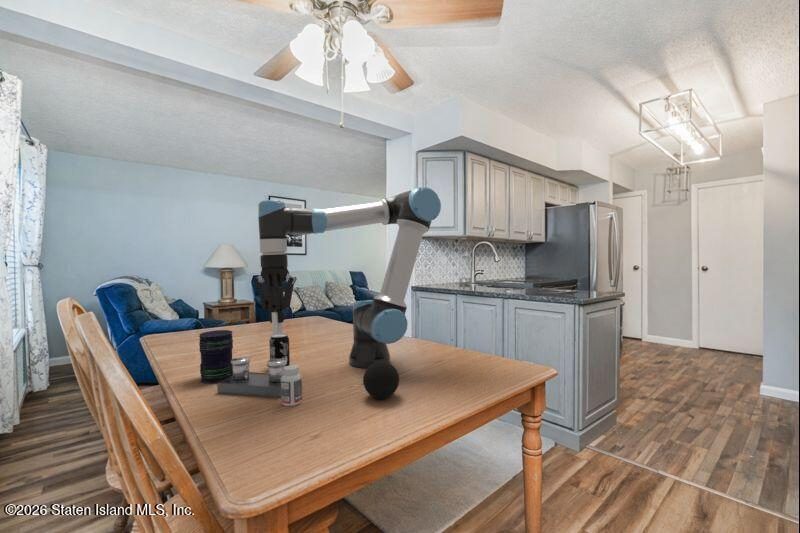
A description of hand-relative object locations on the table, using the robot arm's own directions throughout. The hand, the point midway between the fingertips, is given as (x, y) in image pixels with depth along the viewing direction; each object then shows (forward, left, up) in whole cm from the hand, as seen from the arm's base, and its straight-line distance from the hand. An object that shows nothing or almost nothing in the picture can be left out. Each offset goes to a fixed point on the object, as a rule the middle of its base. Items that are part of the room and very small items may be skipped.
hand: (277, 333), depth 111 cm
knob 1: (+12, 0, -17) cm, 21 cm away
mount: (+6, 0, -17) cm, 18 cm away
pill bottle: (-9, +8, -17) cm, 21 cm away
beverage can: (+10, -19, -17) cm, 27 cm away
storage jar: (+25, -6, -17) cm, 31 cm away
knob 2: (0, 0, -17) cm, 17 cm away
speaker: (-32, 0, -17) cm, 36 cm away
